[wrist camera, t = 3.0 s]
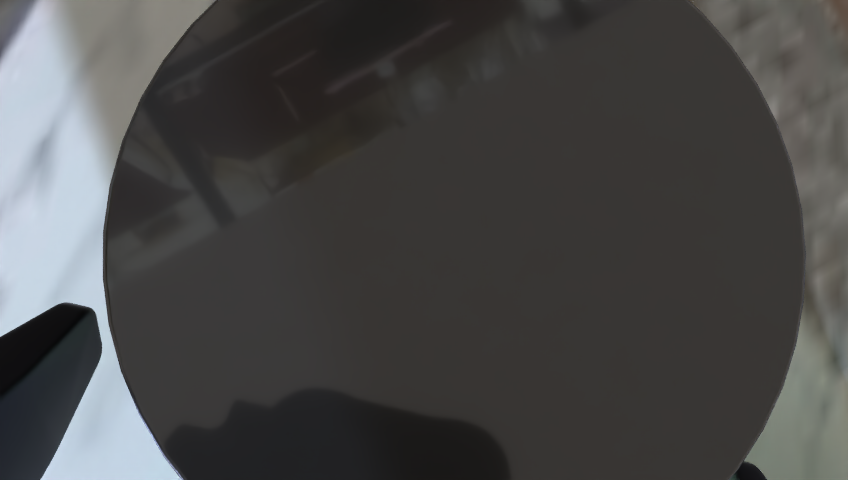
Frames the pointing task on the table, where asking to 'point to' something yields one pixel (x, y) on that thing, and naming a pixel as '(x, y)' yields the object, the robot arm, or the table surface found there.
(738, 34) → the table surface
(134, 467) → the table surface
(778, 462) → the table surface
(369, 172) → the spice jar
